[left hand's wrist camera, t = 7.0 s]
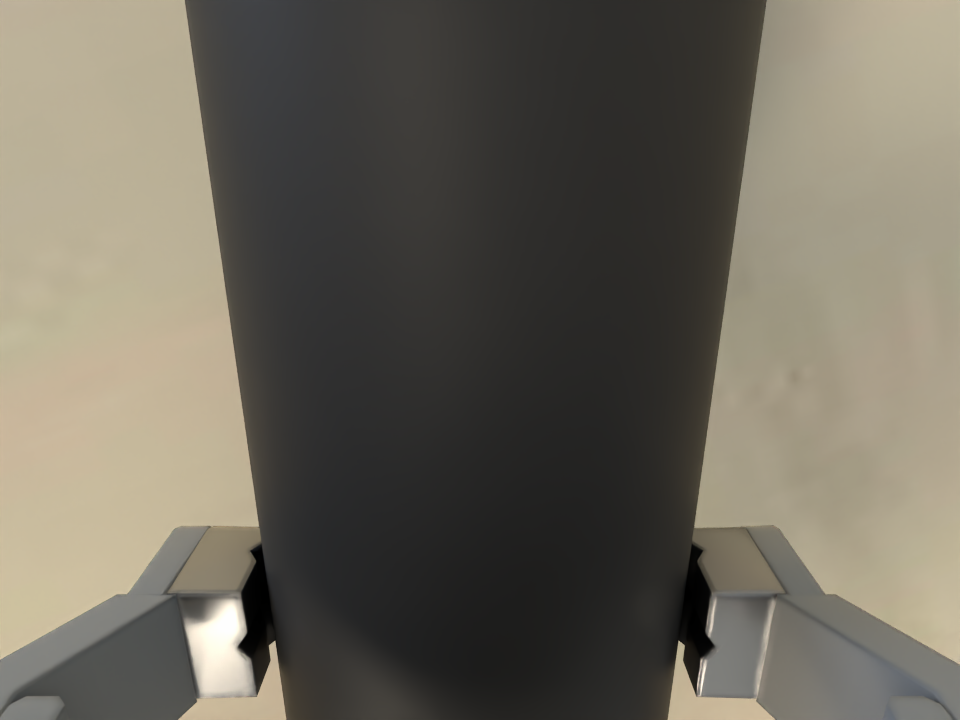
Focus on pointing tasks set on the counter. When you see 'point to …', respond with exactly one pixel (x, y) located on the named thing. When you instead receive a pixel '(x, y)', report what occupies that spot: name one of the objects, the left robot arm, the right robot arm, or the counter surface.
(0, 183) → the counter surface
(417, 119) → the rod
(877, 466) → the counter surface
